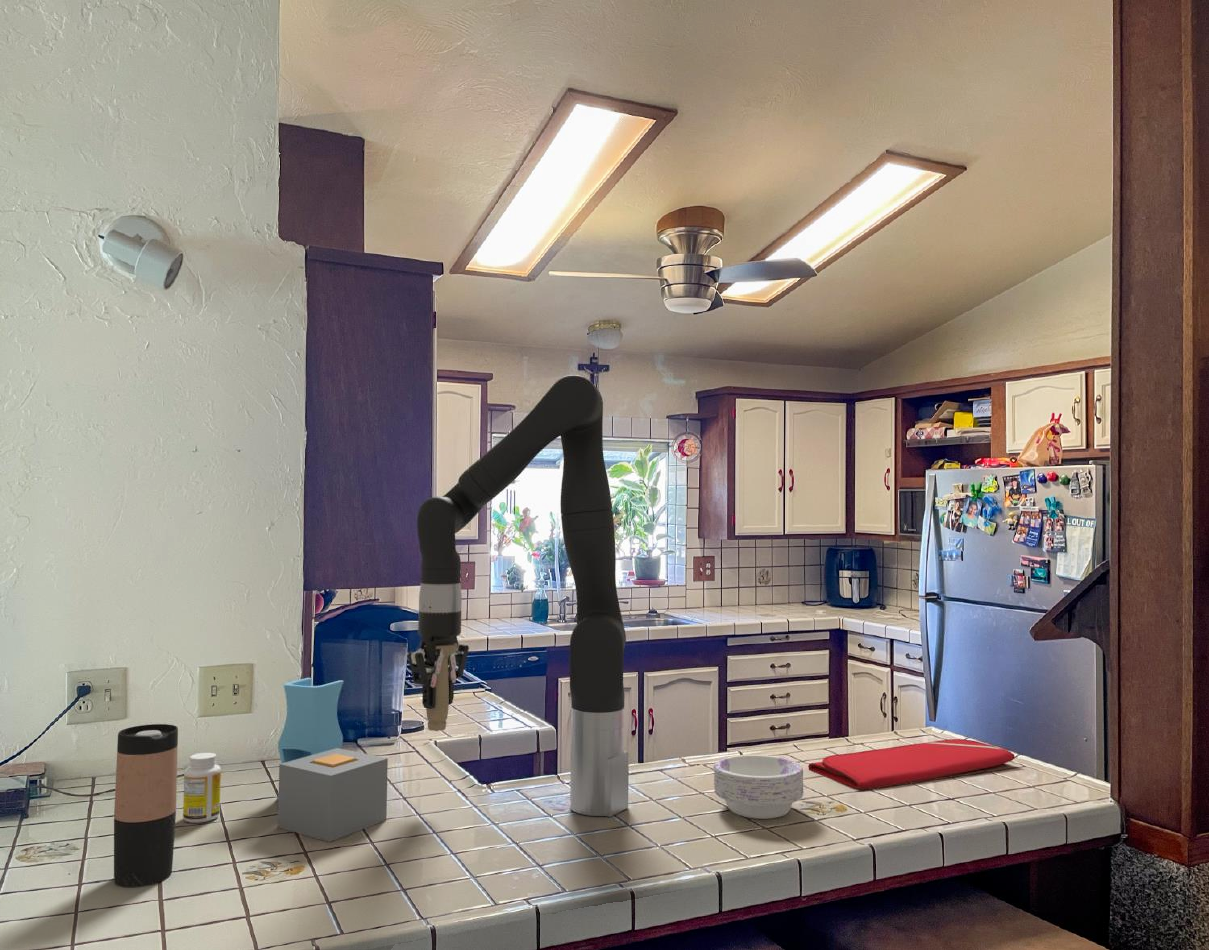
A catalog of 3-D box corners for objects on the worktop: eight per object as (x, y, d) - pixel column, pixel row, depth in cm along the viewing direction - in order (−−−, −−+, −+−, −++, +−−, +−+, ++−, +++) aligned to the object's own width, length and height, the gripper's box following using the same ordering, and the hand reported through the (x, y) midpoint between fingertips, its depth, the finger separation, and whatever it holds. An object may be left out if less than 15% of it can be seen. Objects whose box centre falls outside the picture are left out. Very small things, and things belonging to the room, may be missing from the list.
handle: (455, 732, 156) (456, 645, 156) (417, 733, 155) (419, 646, 155) (455, 725, 160) (457, 642, 161) (419, 726, 159) (421, 642, 160)
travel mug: (126, 866, 126) (132, 723, 127) (182, 865, 127) (187, 723, 128) (101, 888, 118) (106, 737, 119) (160, 887, 119) (165, 736, 120)
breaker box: (386, 819, 147) (387, 758, 147) (329, 841, 136) (330, 775, 137) (335, 806, 153) (337, 747, 153) (277, 827, 143) (279, 763, 143)
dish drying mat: (806, 771, 179) (806, 753, 179) (957, 751, 196) (957, 734, 196) (859, 793, 165) (859, 773, 165) (1017, 769, 182) (1017, 751, 182)
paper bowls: (702, 799, 159) (702, 754, 159) (781, 795, 162) (781, 751, 162) (731, 828, 144) (731, 779, 144) (818, 823, 147) (818, 774, 148)
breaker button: (355, 782, 146) (355, 757, 146) (332, 790, 142) (333, 764, 142) (335, 777, 148) (335, 753, 148) (311, 785, 144) (312, 760, 144)
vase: (341, 791, 162) (344, 680, 163) (314, 804, 154) (317, 687, 155) (305, 786, 164) (308, 677, 165) (276, 799, 157) (279, 684, 158)
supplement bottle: (213, 810, 150) (215, 749, 151) (224, 818, 146) (226, 755, 147) (178, 817, 147) (180, 754, 147) (188, 826, 143) (190, 761, 143)
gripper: (428, 613, 151) (426, 715, 150) (482, 606, 163) (480, 701, 162) (396, 610, 154) (393, 710, 154) (450, 604, 167) (448, 696, 166)
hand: (438, 705), depth 158 cm, fingers closed on handle, 4 cm apart
